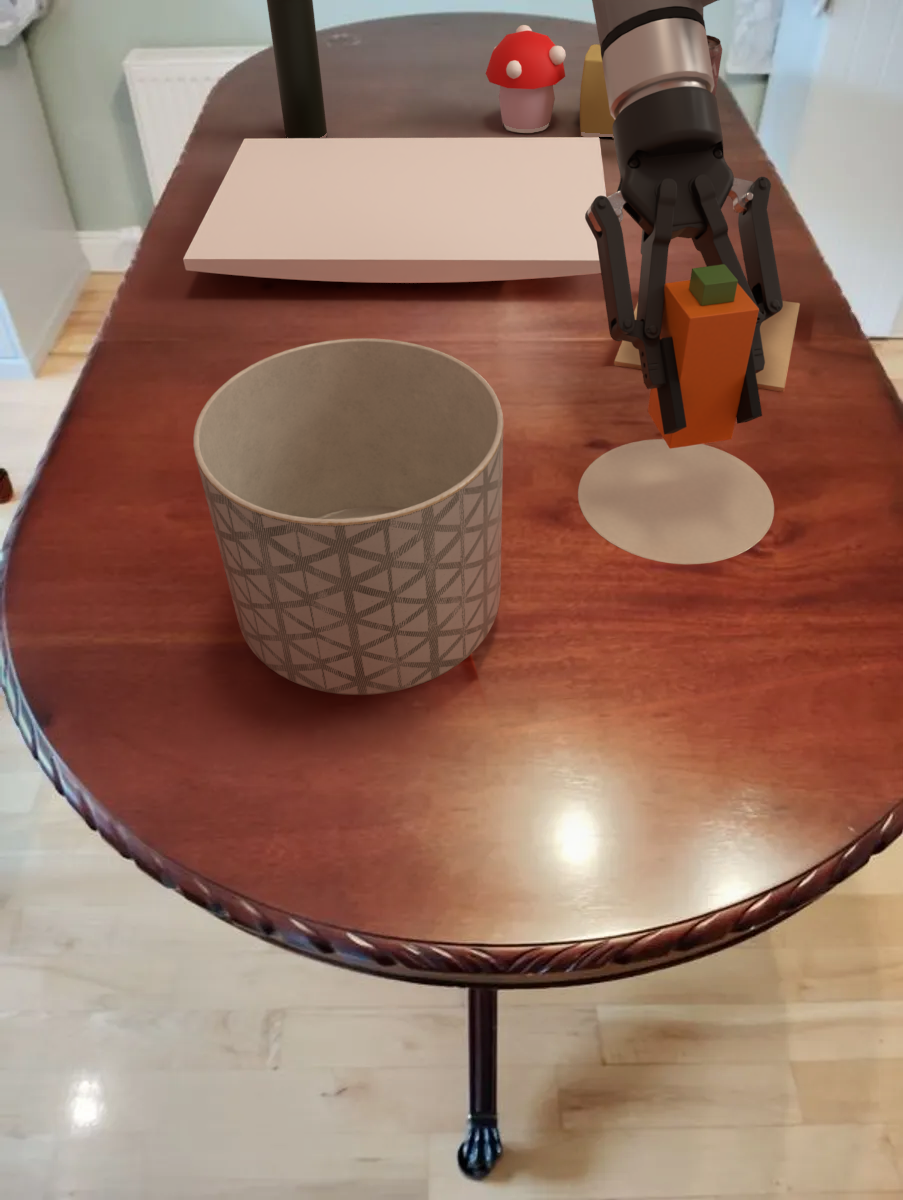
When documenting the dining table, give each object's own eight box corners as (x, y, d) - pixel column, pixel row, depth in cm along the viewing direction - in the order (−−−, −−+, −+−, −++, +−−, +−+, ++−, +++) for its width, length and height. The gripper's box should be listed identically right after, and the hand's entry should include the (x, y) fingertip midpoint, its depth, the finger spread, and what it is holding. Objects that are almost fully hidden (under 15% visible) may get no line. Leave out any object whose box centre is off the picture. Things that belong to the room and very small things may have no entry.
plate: (782, 462, 86) (783, 457, 86) (761, 587, 76) (762, 582, 75) (600, 430, 90) (601, 425, 90) (556, 545, 80) (556, 540, 79)
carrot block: (707, 402, 79) (735, 253, 70) (732, 439, 76) (764, 287, 67) (647, 411, 79) (667, 261, 70) (669, 449, 75) (693, 296, 66)
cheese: (585, 110, 143) (590, 33, 136) (661, 114, 142) (670, 36, 135) (576, 139, 136) (581, 59, 129) (656, 143, 135) (665, 63, 127)
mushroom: (558, 142, 136) (564, 45, 127) (479, 138, 137) (479, 42, 129) (566, 112, 143) (571, 19, 134) (490, 109, 145) (491, 17, 136)
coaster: (797, 311, 104) (800, 303, 103) (782, 396, 93) (784, 387, 92) (644, 290, 107) (645, 281, 107) (613, 369, 97) (614, 361, 96)
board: (596, 174, 128) (599, 137, 125) (609, 302, 106) (613, 260, 102) (250, 175, 131) (244, 138, 127) (192, 299, 108) (183, 258, 105)
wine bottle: (316, 126, 142) (286, -132, 120) (334, 139, 138) (306, -124, 117) (279, 135, 140) (242, -126, 118) (296, 149, 136) (261, -117, 115)
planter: (522, 554, 79) (530, 355, 66) (466, 746, 66) (462, 545, 53) (297, 520, 83) (262, 323, 70) (202, 695, 70) (137, 495, 57)
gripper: (758, 119, 77) (804, 417, 78) (531, 144, 75) (580, 450, 76) (803, 67, 70) (854, 397, 70) (553, 94, 68) (607, 434, 68)
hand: (712, 424), depth 73 cm, fingers closed on carrot block, 5 cm apart
